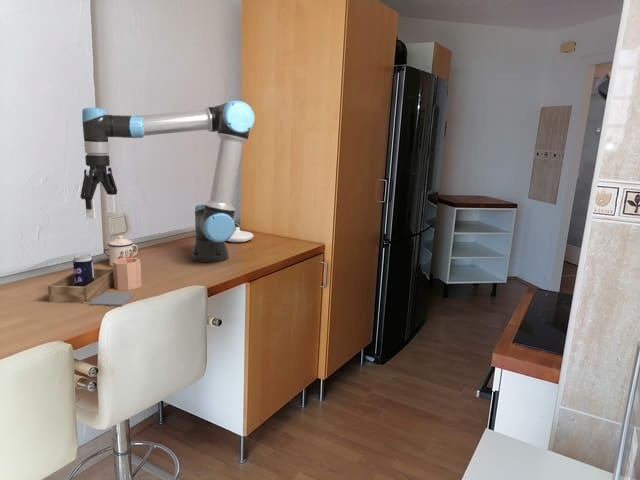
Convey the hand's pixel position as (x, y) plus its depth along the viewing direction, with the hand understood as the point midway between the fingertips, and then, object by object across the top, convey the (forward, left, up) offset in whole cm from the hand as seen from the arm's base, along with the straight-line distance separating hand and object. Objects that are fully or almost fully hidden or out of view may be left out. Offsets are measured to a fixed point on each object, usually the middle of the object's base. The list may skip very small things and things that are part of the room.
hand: (101, 215), depth 165 cm
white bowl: (-36, -65, -22) cm, 77 cm away
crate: (-2, +18, -22) cm, 29 cm away
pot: (-13, +11, -22) cm, 28 cm away
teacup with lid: (0, -17, -22) cm, 28 cm away
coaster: (-14, +25, -22) cm, 36 cm away
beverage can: (-2, +18, -22) cm, 29 cm away
